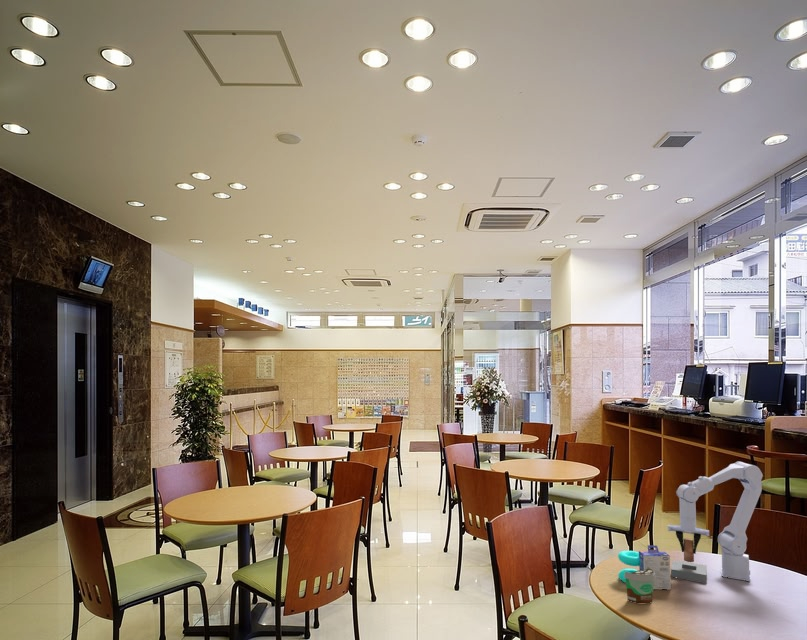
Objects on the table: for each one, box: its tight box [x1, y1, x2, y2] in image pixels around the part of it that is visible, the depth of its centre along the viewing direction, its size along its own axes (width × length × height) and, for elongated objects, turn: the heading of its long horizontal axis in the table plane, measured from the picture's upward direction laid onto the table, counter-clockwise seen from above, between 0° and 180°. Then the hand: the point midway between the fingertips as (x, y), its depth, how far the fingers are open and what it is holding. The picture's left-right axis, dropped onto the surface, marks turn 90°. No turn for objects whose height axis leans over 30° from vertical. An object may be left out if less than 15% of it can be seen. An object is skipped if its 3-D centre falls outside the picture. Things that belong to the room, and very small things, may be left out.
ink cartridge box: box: [638, 544, 672, 591], centre depth 209 cm, size 10×6×14 cm, turn 87°
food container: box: [624, 567, 656, 604], centre depth 196 cm, size 12×6×10 cm, turn 117°
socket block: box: [670, 559, 708, 584], centre depth 221 cm, size 12×12×3 cm
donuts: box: [617, 550, 640, 583], centre depth 215 cm, size 10×10×10 cm
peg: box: [683, 537, 695, 563], centre depth 222 cm, size 4×4×8 cm
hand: (688, 552), depth 222 cm, fingers closed on peg, 3 cm apart
